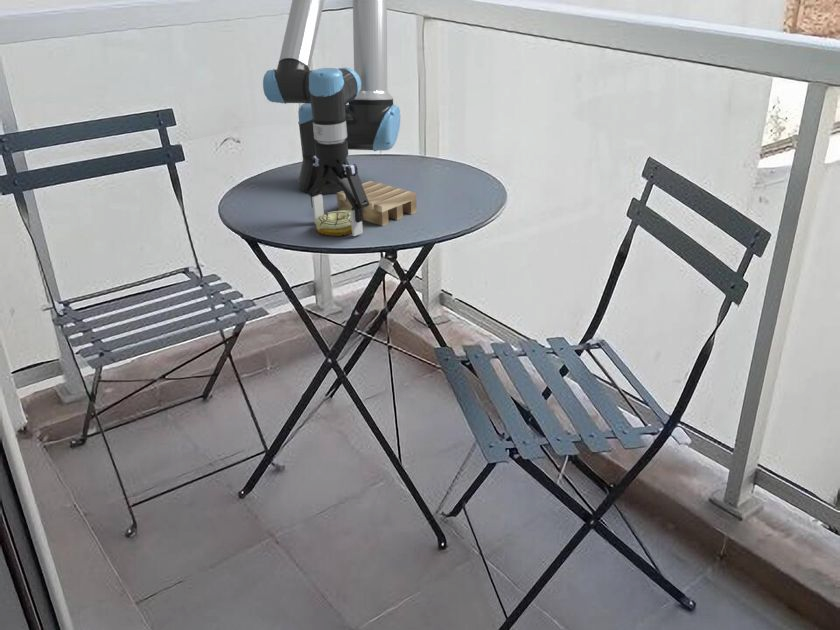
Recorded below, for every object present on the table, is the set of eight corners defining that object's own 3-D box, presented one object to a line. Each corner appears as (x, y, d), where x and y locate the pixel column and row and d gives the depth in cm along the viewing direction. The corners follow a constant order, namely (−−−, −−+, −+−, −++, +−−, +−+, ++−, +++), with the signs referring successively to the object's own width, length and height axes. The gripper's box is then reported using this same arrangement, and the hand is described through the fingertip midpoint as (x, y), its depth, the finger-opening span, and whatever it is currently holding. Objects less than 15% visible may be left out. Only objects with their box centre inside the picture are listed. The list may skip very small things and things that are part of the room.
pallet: (338, 211, 206) (336, 192, 203) (372, 199, 213) (371, 180, 211) (382, 226, 196) (381, 206, 194) (416, 212, 204) (416, 193, 201)
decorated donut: (318, 223, 200) (317, 208, 198) (362, 221, 200) (361, 207, 198) (313, 239, 191) (312, 224, 189) (359, 237, 191) (358, 222, 189)
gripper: (283, 135, 190) (292, 220, 200) (356, 152, 175) (362, 244, 185) (308, 128, 195) (315, 212, 205) (381, 145, 180) (386, 235, 189)
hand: (338, 227), depth 195 cm, fingers open, 13 cm apart
